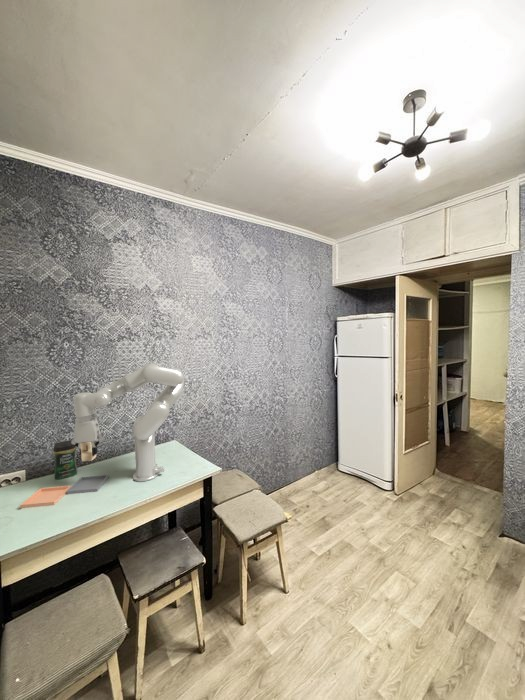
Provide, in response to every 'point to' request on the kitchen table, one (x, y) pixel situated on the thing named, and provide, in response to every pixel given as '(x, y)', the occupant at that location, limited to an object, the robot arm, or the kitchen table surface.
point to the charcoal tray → (88, 484)
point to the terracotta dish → (45, 497)
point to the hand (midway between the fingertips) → (88, 454)
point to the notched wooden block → (86, 451)
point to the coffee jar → (65, 460)
